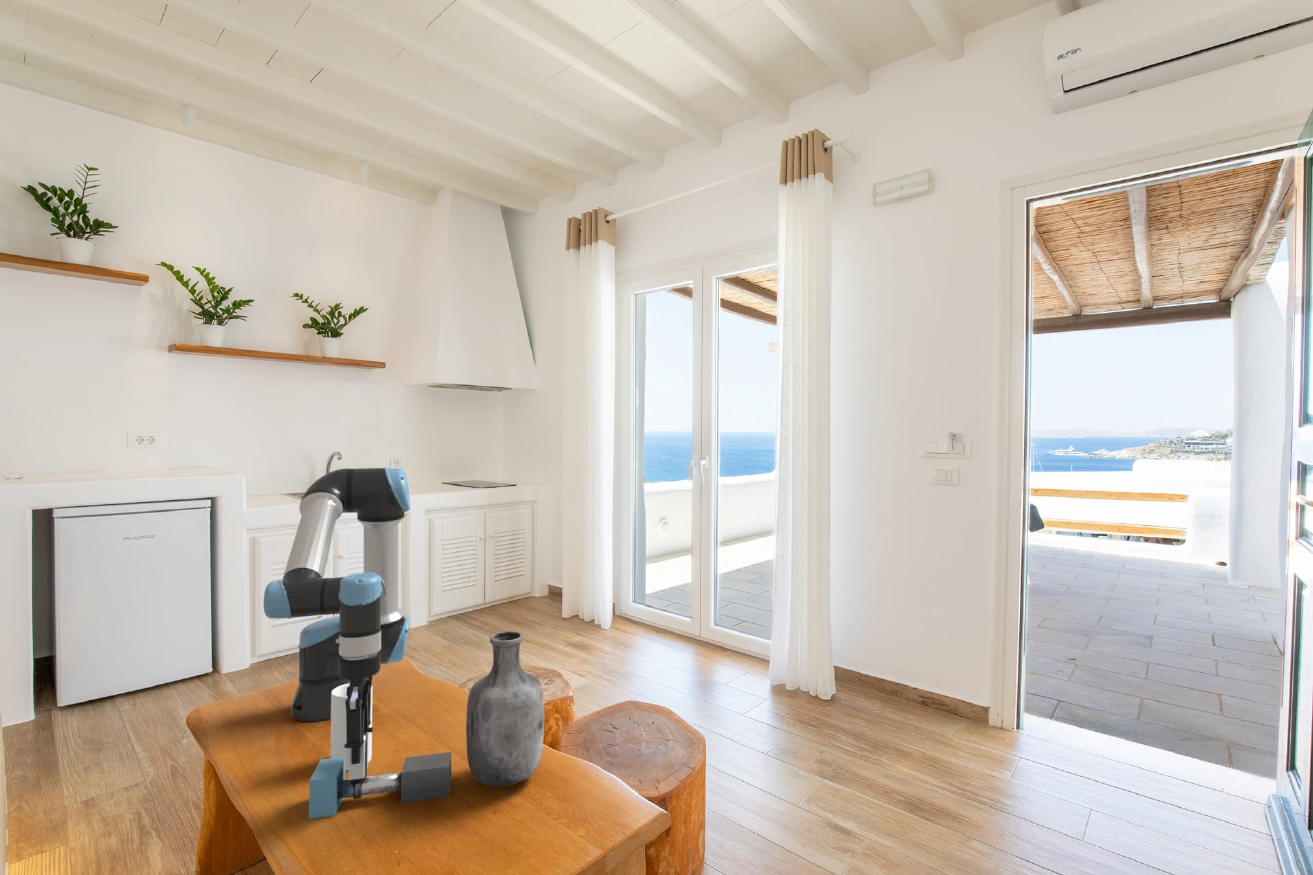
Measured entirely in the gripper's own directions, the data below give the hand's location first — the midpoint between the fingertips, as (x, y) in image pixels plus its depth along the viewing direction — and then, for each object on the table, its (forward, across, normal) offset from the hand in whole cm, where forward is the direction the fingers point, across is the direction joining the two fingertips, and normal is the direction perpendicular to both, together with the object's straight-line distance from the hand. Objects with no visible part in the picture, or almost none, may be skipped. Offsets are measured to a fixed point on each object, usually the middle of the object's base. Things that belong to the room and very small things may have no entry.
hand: (358, 772), depth 119 cm
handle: (+5, 0, +3) cm, 6 cm away
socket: (+6, 0, -6) cm, 8 cm away
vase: (+6, -1, +28) cm, 29 cm away
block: (+6, 0, +13) cm, 14 cm away
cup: (+6, -17, -5) cm, 19 cm away
